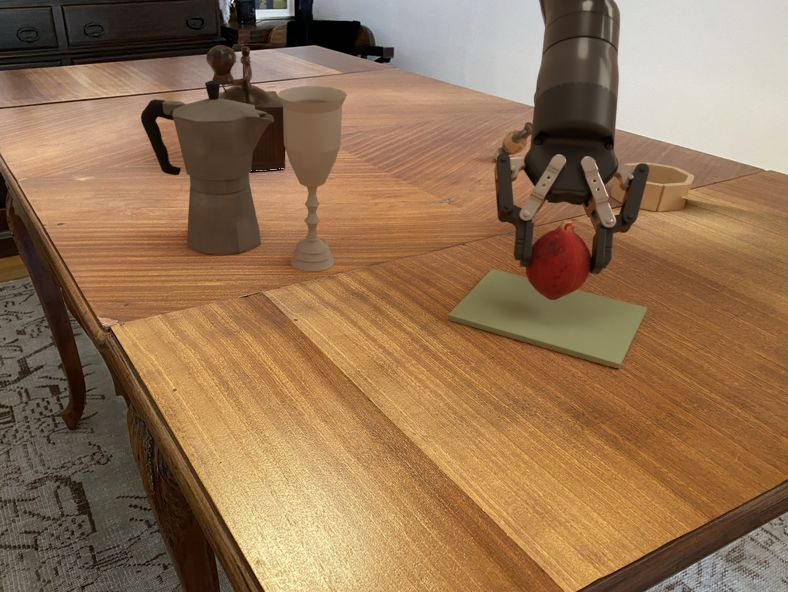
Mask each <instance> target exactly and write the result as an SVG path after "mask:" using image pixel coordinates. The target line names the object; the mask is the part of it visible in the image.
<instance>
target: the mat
mask: <svg viewBox="0 0 788 592" xmlns="http://www.w3.org/2000/svg"><path fill="white" fill-rule="evenodd" d="M647 310H648V307H647V306H644V305H639V304H636V303H631V302H627V301H623V300H619V299H616V298H611V297H608V296H604V295H603V296H602V295H599V294H595V293H591V292H587V291H583V290H579V289H577V290H576V291H574V292H572V293H570V294H568V295H565V296H563V297H560V298H558V299H556V300H549V299H547V298H546V297H545V296H543V295H542V294H540V293H539V292H538V291H536V289H535V288H534V287H533V286H532V285H531V283H530V282H529V281H528V278H527V276H522V275H519V274H514V273H510V272H506V271H503V270H498V269H495V268H491V269H490V270H489V271H488V272H487V273H486V275H484V276H483V278H481V280H480V281H479V282H478V283H477V284H476V285H475V286H474V287H473V288H472V289H471V290H470V291H469V292H468V293H467V294H466V296H465V297H463V298H462V299H461V301H460V302H459V303H458V304H457V305H456V306H455V307H454V308H453V309H452V310H451V311H450V312H449V313H448V314H447V320H448V321H451V322H454V323H458V324H460V325H465V326H467V327H471V328H474V329H478V330H481V331H485V332H489V333H492V334H495V335H498V336H502V337H505V338H509V339H512V340H516V341H519V342H522V343H526V344H530V345H533V346H536V347H539V348H543V349H547V350H550V351H553V352H558V353H561V354H564V355H567V356H571V357H574V358H578V357H579V358H578V359H582V360H584V359H586V360H585V361H588V360H589V361H588V362H591V361H593V362H592V363H595V362H598V363H600V364H599V365H602V364H604V365H603V366H605V365H609V366H611V367H610V368H612V367H614V368H613V369H615V368H619V369H620V368H621V366H622V364H623V362H624V360H625V357H626V356H627V353H628V351H629V349H630V347H631V345H632V344H633V341H634V338H635V336H636V335H637V332H638V331H639V328H640V326H641V324H642V321H643V319H644V317H645V315H646V313H647ZM598 363H597V364H598ZM609 366H608V367H609Z"/></svg>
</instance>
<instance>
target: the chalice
mask: <svg viewBox="0 0 788 592" xmlns="http://www.w3.org/2000/svg"><path fill="white" fill-rule="evenodd" d="M277 95H278V97H279V99H280V101H281V103H282V105H283V123H284V146H285V153H286V155H287V158H288V161H289V164H290V166H291V168H292V170H293V172H294V174H295V176H296V178H297V180H298V182H299V184H300V185H302V186H304V187H306V188H307V193H308V194H307V198H306V201H305V203H304V206H305V207H306V208H307V216H306V218H304V220H303V221H304V223H306V225H307V235H305V237H304V238H302V239H299V240H298V242H297V243H296V245H295V249H294V250H293V252H292V256H291V257H290V259H289V264H290V266H292V267H293V268H294V269H296V270H300V271H303V272H322V271H326V270H329V269H330V268H332V267H333V266H335V263H336V261H335V258H334V257H333V256H332V251H331V250H330V246H329V244H328V243H327V242H326V240H324V239H323V238H321V237H320V236H318V233H317V228H318V224H319V223H321V219H320V218H319V217H318V214H317V211H318V207H319V206H320V202H319V201H318V196H317V191H318V188H319V187H321V186H323V185H325V184H326V182H327V180H328V178H329V175H330V173H331V172H332V170H333V167H334V165H335V163H336V160H337V157H338V154H339V151H340V148H341V145H342V118H343V117H342V115H343V114H342V113H343V105H344V102H345V100H346V98H347V96H348V93H347V92H345V91H344V90H342V89H339V88H335V87H329V86H320V85H319V86H318V85H305V86H303V85H302V86H293V87H289V88H285V89H283V90H282V89H281V90H280V91H279V92H278V93H277Z"/></svg>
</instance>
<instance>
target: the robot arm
mask: <svg viewBox="0 0 788 592" xmlns="http://www.w3.org/2000/svg"><path fill="white" fill-rule="evenodd" d="M538 2H539V7H540V12H541V17H542V21H543V25H544V32H543V41H542V50H541V51H542V53H541V61H540V66H539V70H538V74H537V78H536V85H535V91H534V94H533V104H534V105H533V115H532V122H531V123H532V133H531V135H530V143H529V149H528V151H527V152H526V153H525V155H524V156H515V157H509V155H508V154H506V153H501V154H499V155H498V157H497V160H495V165H494V170H493V171H494V173H493V174H494V186H495V200H496V213H497V214H496V215H497V219H498V221H499V222H501V223H509V224H510V225H513V227H514V228H515V237H514V247H513V258H514V261H519V267H520V268H526V267H528V265H529V263H530V259H531V251H532V245H533V241H534V240H533V239H534V230H535V229H534V228H535V222H533V221H534V219H535V218H536V217H537V215H538V213H539V212H540V211H541V209H542V207H543V206H544V204H545V202H546V201H547V203H550V204H559V203H567V204H571V205H573V206H574V205H575V206H582V207H583V210H584V212H585V214H586V217H587V218H589V220H590V222H591V224H592V227H593V230H594V232H595V233H594V234H593V236H592V242H591V253H590V254H591V259H592V263H591V268H590V273H589V274H590V275H591V274H592V275H600V273H601V272H602V271H603V269H604V270H605V269H606V268H607V267H608V265H609V264H610V262H611V260H612V257H613V256H612V255H613V244H614V243H613V242H614V235H615V234H618V233H621V234H625V233H628V232H629V231H630V229H631V227H632V226H633V225H634V223H635V222H636V221H637V219H638V217H639V213H640V205H641V201H642V197H643V194H644V190H645V186H646V182H647V178H648V174H649V170H650V168H649V166H648V165H647V164H645V163H642V162H639V163H640V164H638V165H637V166H636V167H633V166H629V165H624V164H625V163H620V162H619V159H618V158H617V155H616V154H615V153H616V152H615V139H616V138H615V137H616V125H617V112H618V100H619V99H618V97H619V85H620V72H619V71H620V70H619V60H618V59H619V48H620V47H619V46H620V34H621V33H620V32H621V11H620V8H619V6H618V3H617V2H616V1H615V0H538ZM521 171H524V173H525V175H526V176H527V178H528V179H529V181H530V182H531V184H532V186H533V189H532V191H531V193H530V195H529V197H528V198H527V200H526V201H525V203H524V205H523V206H522V207H520V206H518V205H516V204H515V203H514V192H513V191H514V189H513V182H515V181H517V179H518V175H519V173H520V172H521ZM615 177H616V178H618V180H619V186H620V188H621V189H622V190H623V191H625V194H624V198H623V202H622V203H621V206H620V210H619V213H618V214H614V211H613V210H612V208H611V204H610V198H609V194H608V191H607V189H606V187H605V186H606V185H607V184H609V182H610V181H611V180H612V179H614V178H615Z"/></svg>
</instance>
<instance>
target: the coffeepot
mask: <svg viewBox="0 0 788 592" xmlns="http://www.w3.org/2000/svg"><path fill="white" fill-rule="evenodd" d="M204 86H205V89H206V93H207V96H208V98H205V99H200V100H198V101H192V102H190V103H184V102H182V101H179V100H164V99H157V98H156V99H151V100H150V101H149V102H148V103H147V105H146V106H145V108H144V109H143V111H142V112H141V113H140V114H141V115H140V121H141V124H142V127H143V129H144V131H145V133H146V135H147V138H148V140H149V142H150V145H151V147H152V149H153V152H154V154H155V157H156V160H157V161H158V164H159V166H160V168H161V171H162V172H163V173H164V174H166V175H170V176H178V175H180V173H181V170H182V167H178V166H175V165H173V164H171V162H170V157H169V152H168V148H167V146H166V144H165V142H164V141H163V136H162V133H161V129H160V126H159V124H158V122H157V119H158V118H162V119H165V120H169V121H172V122H174V127H175V131H176V135H177V140H178V144H179V147H180V151H181V155H182V160H183V163H184V167H185V171H186V172H185V173H186V175H188V176H189V185H190V186H189V195H188V196H189V197H188V213H187V215H188V217H187V233H186V246H187V247H188V248H190V249H192V250H193V251H195V252H197V253H200V254H204V255H208V256H209V255H211V256H231V255H236V254H241V253H245V252H248V251H250V250H253V249H254V248H255V247H257V246H258V245H259V244H260V243H261V242H262V240H261V239H262V238H261V232H260V227H259V222H258V217H257V213H256V208H255V202H254V198H253V194H252V189H251V184H250V173H252V172H251V165H252V155H253V151H254V149H255V147H256V145H257V143H258V141H259V139H260V137H261V136H262V134H263V132H264V131H265V129H266V127H267V126H268V125H269V124H270V123H273V122H274V119H273V117H272V115H270V114H267V112H263V111H259V110H256V109H255V105H251V104H246V103H241V102H236V101H232V100H226V99H221V98H219V92H220V88H221V87H220V86H221V85H220V82H217V81H213V80H212V79H211V80H208V81H206V82H205V83H204Z"/></svg>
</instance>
